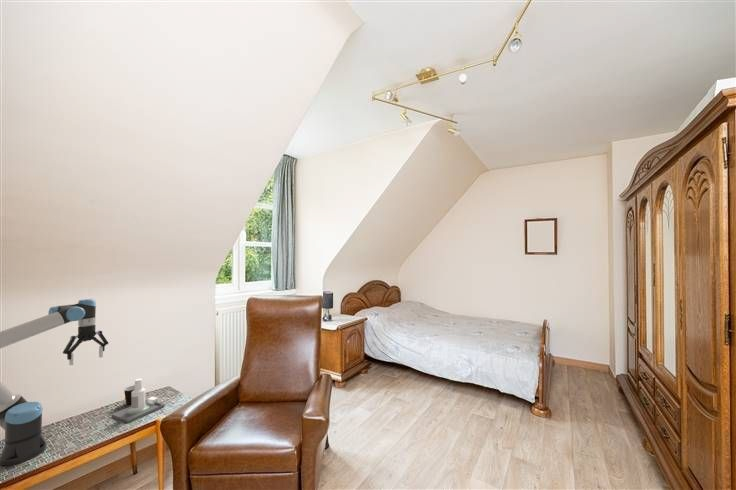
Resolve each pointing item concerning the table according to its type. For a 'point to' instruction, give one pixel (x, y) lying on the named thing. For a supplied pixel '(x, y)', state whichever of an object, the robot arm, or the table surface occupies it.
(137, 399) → the spray bottle
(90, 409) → the table surface
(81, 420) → the table surface
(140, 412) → the charging dock
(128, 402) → the coffee mug
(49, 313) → the robot arm
